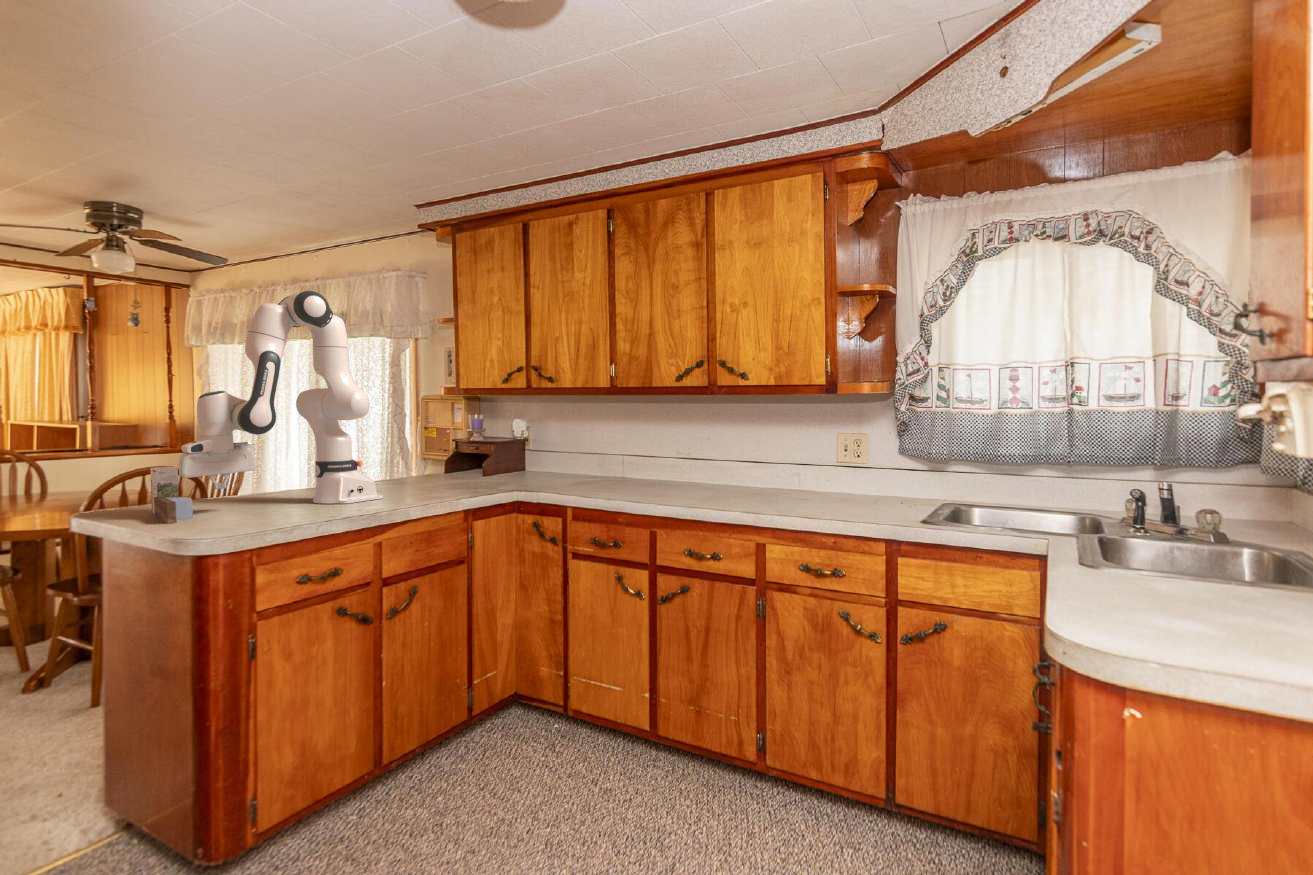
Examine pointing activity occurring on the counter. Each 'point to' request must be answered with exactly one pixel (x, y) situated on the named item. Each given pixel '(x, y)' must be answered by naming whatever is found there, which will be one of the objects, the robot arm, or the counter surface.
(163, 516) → the walnut board
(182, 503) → the blue block
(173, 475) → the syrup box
